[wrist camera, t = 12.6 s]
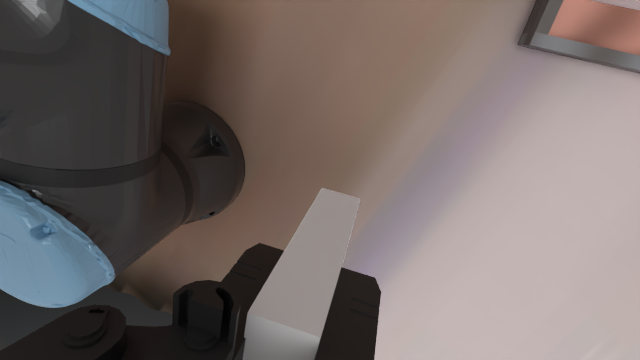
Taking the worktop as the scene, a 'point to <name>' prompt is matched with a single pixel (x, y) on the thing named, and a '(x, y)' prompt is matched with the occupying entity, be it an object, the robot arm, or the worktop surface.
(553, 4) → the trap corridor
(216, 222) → the worktop surface
